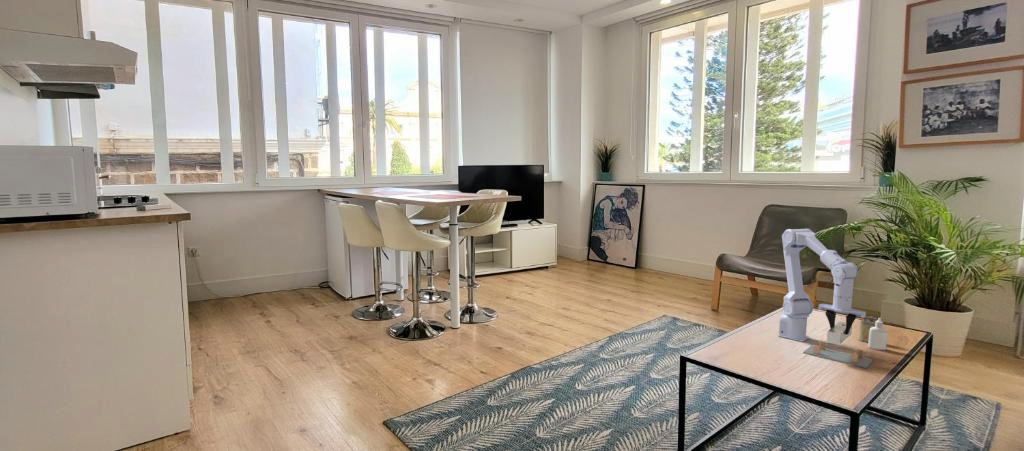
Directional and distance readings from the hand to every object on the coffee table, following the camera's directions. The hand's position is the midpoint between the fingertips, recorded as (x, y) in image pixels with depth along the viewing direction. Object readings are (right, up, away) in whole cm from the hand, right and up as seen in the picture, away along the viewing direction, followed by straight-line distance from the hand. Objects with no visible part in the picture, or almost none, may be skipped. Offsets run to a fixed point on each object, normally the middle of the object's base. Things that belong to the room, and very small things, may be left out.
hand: (839, 332), depth 194 cm
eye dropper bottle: (+20, -8, +9) cm, 23 cm away
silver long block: (0, -2, 0) cm, 2 cm away
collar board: (-1, -9, 0) cm, 9 cm away
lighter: (+22, -7, +17) cm, 29 cm away
